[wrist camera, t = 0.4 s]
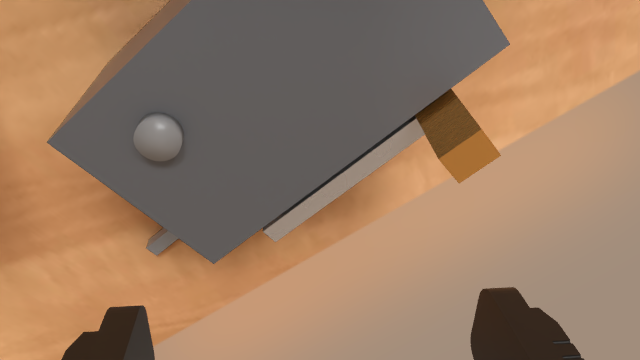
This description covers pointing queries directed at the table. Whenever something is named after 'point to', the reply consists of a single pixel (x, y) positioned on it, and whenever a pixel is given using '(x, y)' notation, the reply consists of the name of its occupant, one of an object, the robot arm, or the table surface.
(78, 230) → the table surface
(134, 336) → the robot arm
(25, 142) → the table surface
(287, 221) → the side door
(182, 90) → the grey box machine
